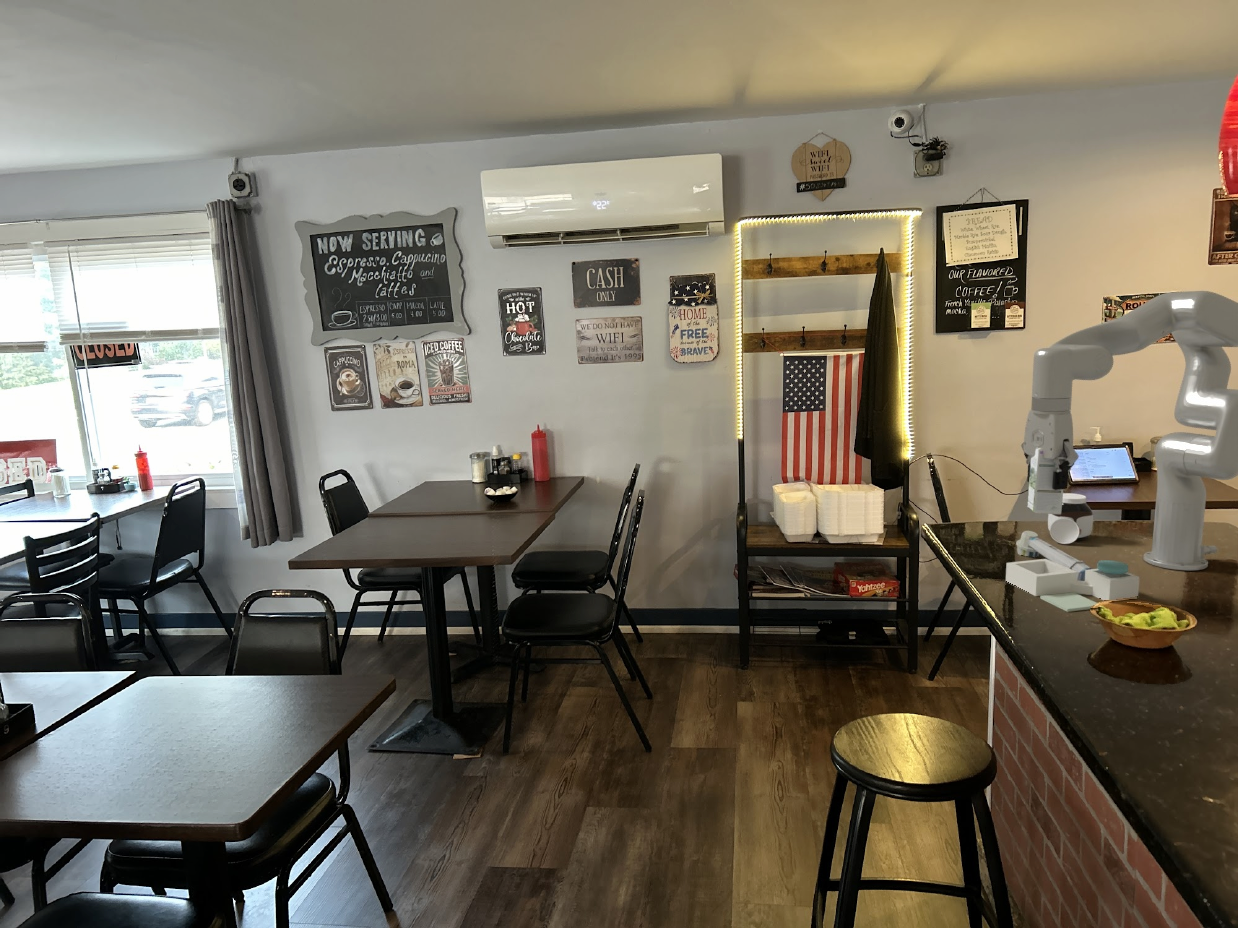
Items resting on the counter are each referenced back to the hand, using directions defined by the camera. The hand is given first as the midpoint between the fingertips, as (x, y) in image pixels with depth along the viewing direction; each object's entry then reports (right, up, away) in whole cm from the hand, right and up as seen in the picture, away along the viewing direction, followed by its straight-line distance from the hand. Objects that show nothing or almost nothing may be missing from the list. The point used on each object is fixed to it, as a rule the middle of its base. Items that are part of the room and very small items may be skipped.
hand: (1046, 484), depth 170 cm
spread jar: (+27, -16, +37) cm, 49 cm away
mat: (+2, -25, -6) cm, 26 cm away
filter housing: (+6, -23, +1) cm, 24 cm away
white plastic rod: (+11, -21, +17) cm, 29 cm away
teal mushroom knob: (+12, -23, -3) cm, 26 cm away
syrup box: (0, -6, +1) cm, 6 cm away
